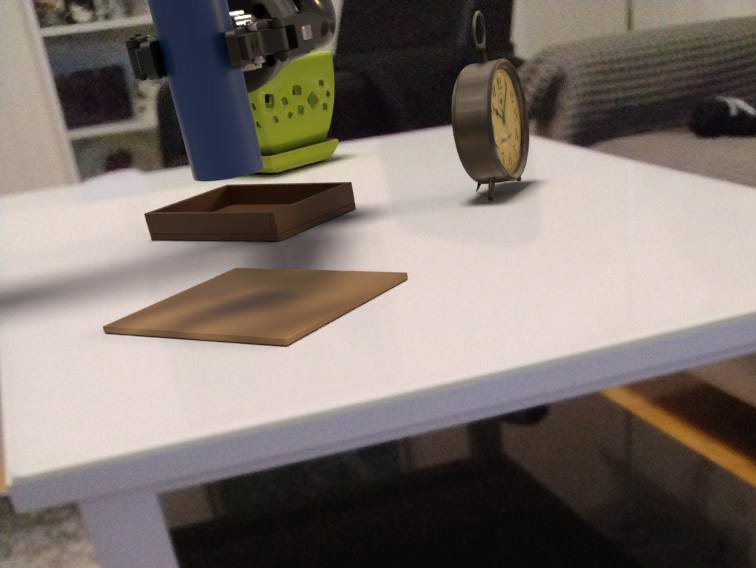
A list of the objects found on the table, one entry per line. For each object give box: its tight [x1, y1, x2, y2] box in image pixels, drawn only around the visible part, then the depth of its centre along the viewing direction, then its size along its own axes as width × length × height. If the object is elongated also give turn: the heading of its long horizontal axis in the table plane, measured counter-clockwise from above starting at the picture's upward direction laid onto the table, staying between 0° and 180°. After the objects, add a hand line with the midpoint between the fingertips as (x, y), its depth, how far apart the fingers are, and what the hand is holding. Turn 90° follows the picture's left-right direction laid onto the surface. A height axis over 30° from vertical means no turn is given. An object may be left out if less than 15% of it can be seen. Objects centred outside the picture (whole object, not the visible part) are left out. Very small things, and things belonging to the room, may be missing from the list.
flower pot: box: [248, 50, 339, 174], centre depth 134 cm, size 14×14×13 cm
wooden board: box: [102, 267, 409, 347], centre depth 80 cm, size 18×16×1 cm
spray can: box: [146, 0, 264, 183], centre depth 71 cm, size 5×5×13 cm
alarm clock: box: [450, 10, 530, 202], centre depth 102 cm, size 11×5×16 cm, turn 159°
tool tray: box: [143, 181, 357, 242], centre depth 106 cm, size 17×13×3 cm
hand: (191, 56), depth 68 cm, fingers closed on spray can, 5 cm apart
